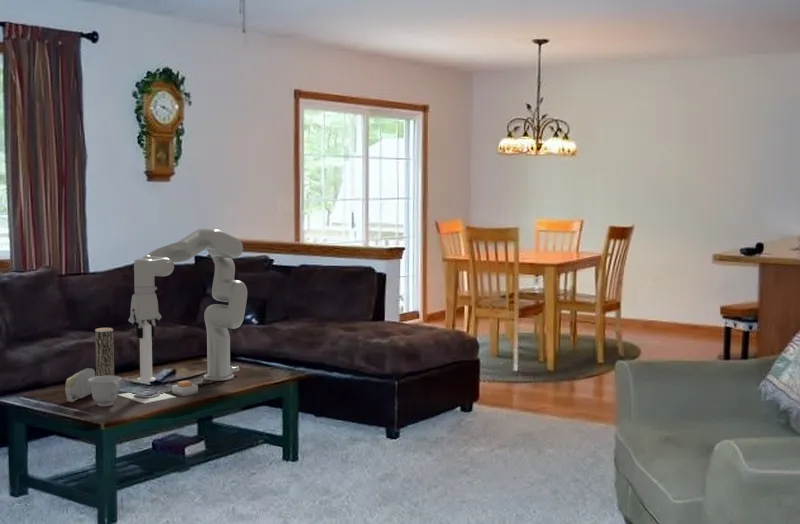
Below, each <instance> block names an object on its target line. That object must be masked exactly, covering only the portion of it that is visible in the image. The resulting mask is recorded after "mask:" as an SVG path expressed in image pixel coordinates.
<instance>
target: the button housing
mask: <svg viewBox="0 0 800 524" xmlns="http://www.w3.org/2000/svg"><path fill="white" fill-rule="evenodd" d="M171 393H172V394H174V395H178V396H181V397H184V396H191V395H194V394H195V395H196V394H199V385H197V384H193V383H192V386H189V387H184V388H183V387H180V386H178V384H174V385H172V386H171Z"/></svg>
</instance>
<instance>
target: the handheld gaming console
mask: <svg viewBox="0 0 800 524" xmlns="http://www.w3.org/2000/svg"><path fill="white" fill-rule="evenodd" d="M92 377H96V371H95V369H94V368H89V367H87V368H84V369H82V370H80V371H79V372H76V373H74V374H73V375H71V376H69V377H68V378H66V381H65V388H64V392H65V394H66V401H67V402H70V403H73V402H75V401H77V400H79V399H83V398H86V397H87V396H89V395H90V394H91V395H92V391H91V385H90V382H89V381H88V379H89V378H92Z"/></svg>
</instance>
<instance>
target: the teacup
mask: <svg viewBox="0 0 800 524" xmlns="http://www.w3.org/2000/svg"><path fill="white" fill-rule="evenodd" d="M95 376H96V375H95ZM121 380H122V377H121V376H119V375H114V376H112V375H105V376H96V377H92V378H89V379H88V381H89V382H90V385H91V391H92V393H91V395H92V399H93V400H94V402H96V403H97V406H98V407H109V406H113V405H114V401H115V400H117V398H118V397H119V396H118V394H119V391H120V390H121V389H120V381H121Z"/></svg>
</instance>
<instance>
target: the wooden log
mask: <svg viewBox="0 0 800 524" xmlns="http://www.w3.org/2000/svg"><path fill="white" fill-rule="evenodd" d="M94 331H95V333H94V338H95V341H94V342H95V370H96V371H95V376H105V375H112V376H115V362H114V361H115V360H114V357H115V355H114V353H115V352H114V329H113V328H112V327H99V328H98V327H97V328H95V330H94Z"/></svg>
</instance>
